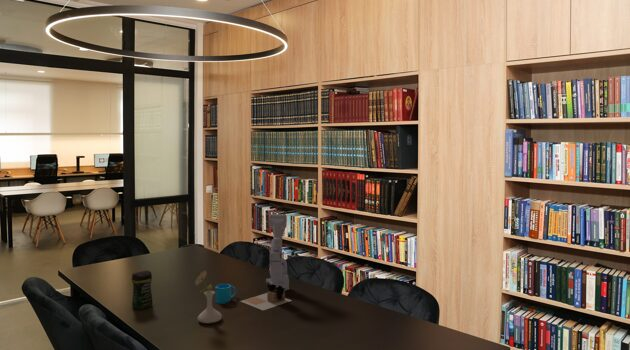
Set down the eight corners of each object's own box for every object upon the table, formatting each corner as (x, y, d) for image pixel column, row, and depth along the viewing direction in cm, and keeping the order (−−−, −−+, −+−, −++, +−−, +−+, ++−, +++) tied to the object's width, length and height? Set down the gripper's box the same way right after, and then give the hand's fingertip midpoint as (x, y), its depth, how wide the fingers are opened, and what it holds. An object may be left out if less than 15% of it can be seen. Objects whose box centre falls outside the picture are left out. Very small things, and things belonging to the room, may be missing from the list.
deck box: (278, 297, 249) (278, 288, 249) (285, 299, 246) (284, 290, 245) (267, 301, 243) (267, 292, 243) (273, 303, 240) (273, 294, 240)
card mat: (269, 293, 258) (269, 292, 258) (292, 301, 245) (292, 300, 245) (240, 302, 244) (240, 301, 243) (263, 311, 230) (263, 310, 230)
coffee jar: (137, 311, 231) (136, 275, 230) (130, 307, 236) (128, 272, 235) (155, 306, 238) (154, 271, 237) (147, 302, 243) (146, 268, 242)
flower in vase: (212, 314, 227) (211, 264, 225) (227, 320, 219) (226, 268, 218) (189, 322, 217) (188, 270, 215) (204, 328, 209) (203, 275, 207)
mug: (220, 304, 240) (220, 289, 239) (213, 300, 246) (212, 285, 246) (240, 299, 248) (240, 285, 247) (232, 295, 254) (232, 281, 253)
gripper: (261, 272, 246) (261, 296, 247) (279, 277, 235) (279, 303, 237) (271, 269, 251) (271, 293, 252) (289, 274, 241) (289, 300, 242)
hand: (276, 298), depth 244 cm, fingers closed on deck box, 5 cm apart
